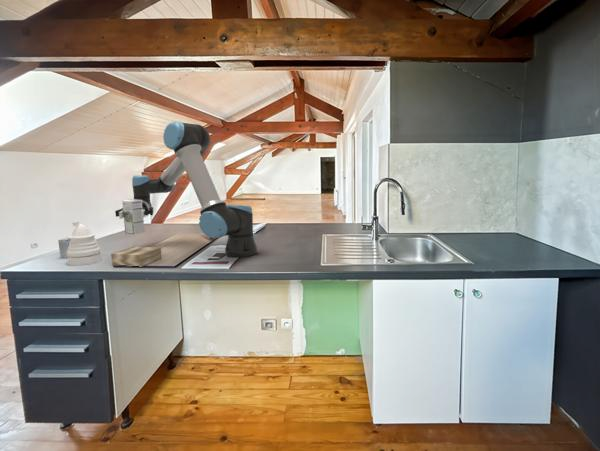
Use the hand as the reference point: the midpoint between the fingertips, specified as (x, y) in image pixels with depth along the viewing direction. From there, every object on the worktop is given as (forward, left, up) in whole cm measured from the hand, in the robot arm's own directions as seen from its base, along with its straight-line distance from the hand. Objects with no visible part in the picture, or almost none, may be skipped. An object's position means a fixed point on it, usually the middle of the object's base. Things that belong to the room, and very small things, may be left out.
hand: (131, 215), depth 148 cm
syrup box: (+3, -4, -9) cm, 10 cm away
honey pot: (+26, 0, -22) cm, 34 cm away
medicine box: (+41, -7, -22) cm, 47 cm away
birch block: (+2, -4, -21) cm, 22 cm away
